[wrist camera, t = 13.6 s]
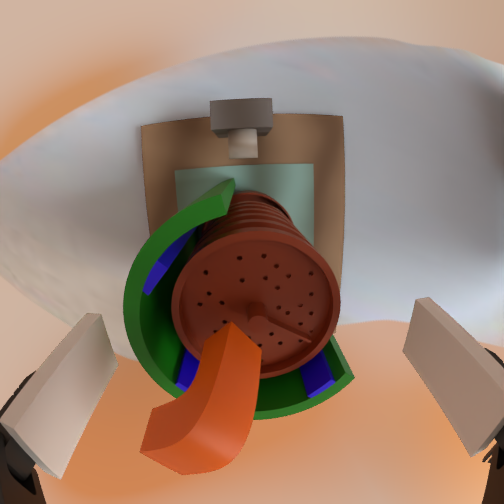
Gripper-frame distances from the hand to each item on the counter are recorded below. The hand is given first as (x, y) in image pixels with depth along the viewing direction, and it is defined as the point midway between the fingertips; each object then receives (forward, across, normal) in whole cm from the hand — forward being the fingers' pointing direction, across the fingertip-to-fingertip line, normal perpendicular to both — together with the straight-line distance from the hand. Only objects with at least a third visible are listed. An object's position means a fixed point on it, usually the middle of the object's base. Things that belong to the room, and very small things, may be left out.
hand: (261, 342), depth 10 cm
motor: (+16, +1, 0) cm, 16 cm away
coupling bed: (+17, +1, 0) cm, 17 cm away
